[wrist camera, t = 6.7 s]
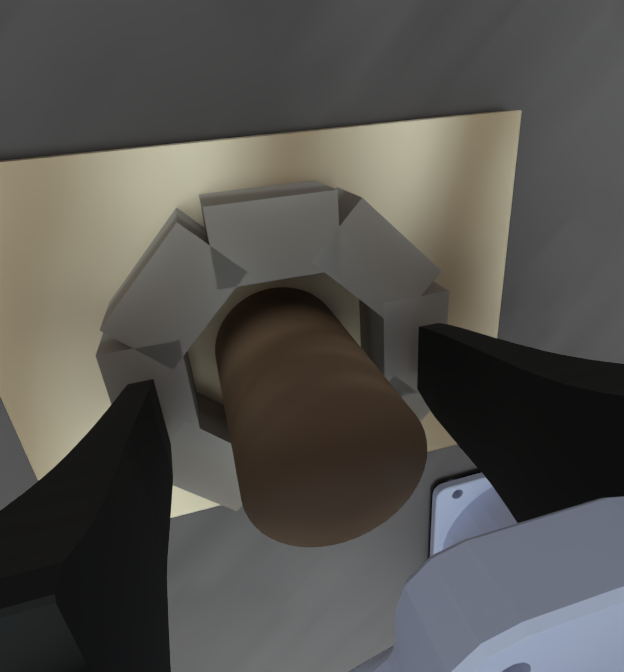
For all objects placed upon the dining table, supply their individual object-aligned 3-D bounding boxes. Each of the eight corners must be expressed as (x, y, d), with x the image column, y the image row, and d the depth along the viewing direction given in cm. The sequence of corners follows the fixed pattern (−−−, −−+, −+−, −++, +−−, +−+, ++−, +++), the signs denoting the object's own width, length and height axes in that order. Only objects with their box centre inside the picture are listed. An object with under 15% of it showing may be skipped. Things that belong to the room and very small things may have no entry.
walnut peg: (342, 283, 14) (440, 379, 9) (335, 393, 16) (414, 527, 11) (211, 291, 13) (236, 403, 8) (218, 408, 15) (243, 563, 10)
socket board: (504, 110, 14) (573, 108, 12) (475, 425, 20) (518, 469, 17) (-84, 168, 11) (-156, 183, 9) (71, 526, 16) (53, 597, 14)
